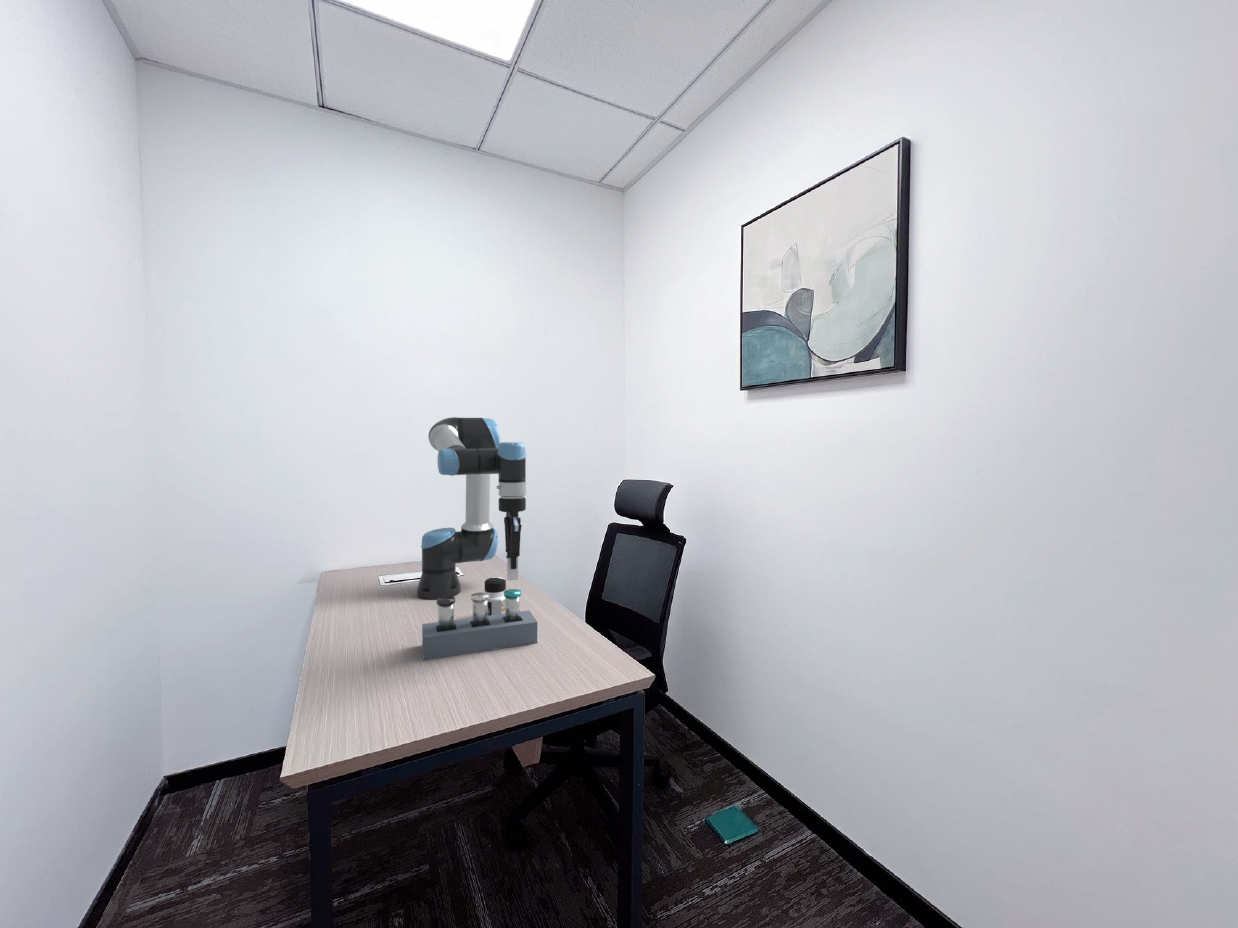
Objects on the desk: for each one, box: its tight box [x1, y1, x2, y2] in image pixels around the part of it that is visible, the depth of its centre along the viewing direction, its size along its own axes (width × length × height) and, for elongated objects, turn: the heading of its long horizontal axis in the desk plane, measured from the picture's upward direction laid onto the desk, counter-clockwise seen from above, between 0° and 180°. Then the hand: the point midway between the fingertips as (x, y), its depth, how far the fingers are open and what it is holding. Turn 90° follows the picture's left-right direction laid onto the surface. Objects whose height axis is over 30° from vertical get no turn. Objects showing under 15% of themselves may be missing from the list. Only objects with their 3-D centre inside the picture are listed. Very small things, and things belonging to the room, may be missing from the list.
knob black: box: [436, 596, 456, 632], centre depth 137 cm, size 5×5×8 cm
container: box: [484, 576, 507, 616], centre depth 160 cm, size 8×8×13 cm
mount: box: [421, 610, 538, 661], centre depth 141 cm, size 10×30×6 cm, turn 113°
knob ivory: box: [470, 592, 489, 627], centre depth 141 cm, size 5×5×8 cm
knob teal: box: [504, 588, 522, 623], centre depth 144 cm, size 5×5×8 cm
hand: (512, 579), depth 144 cm, fingers closed
